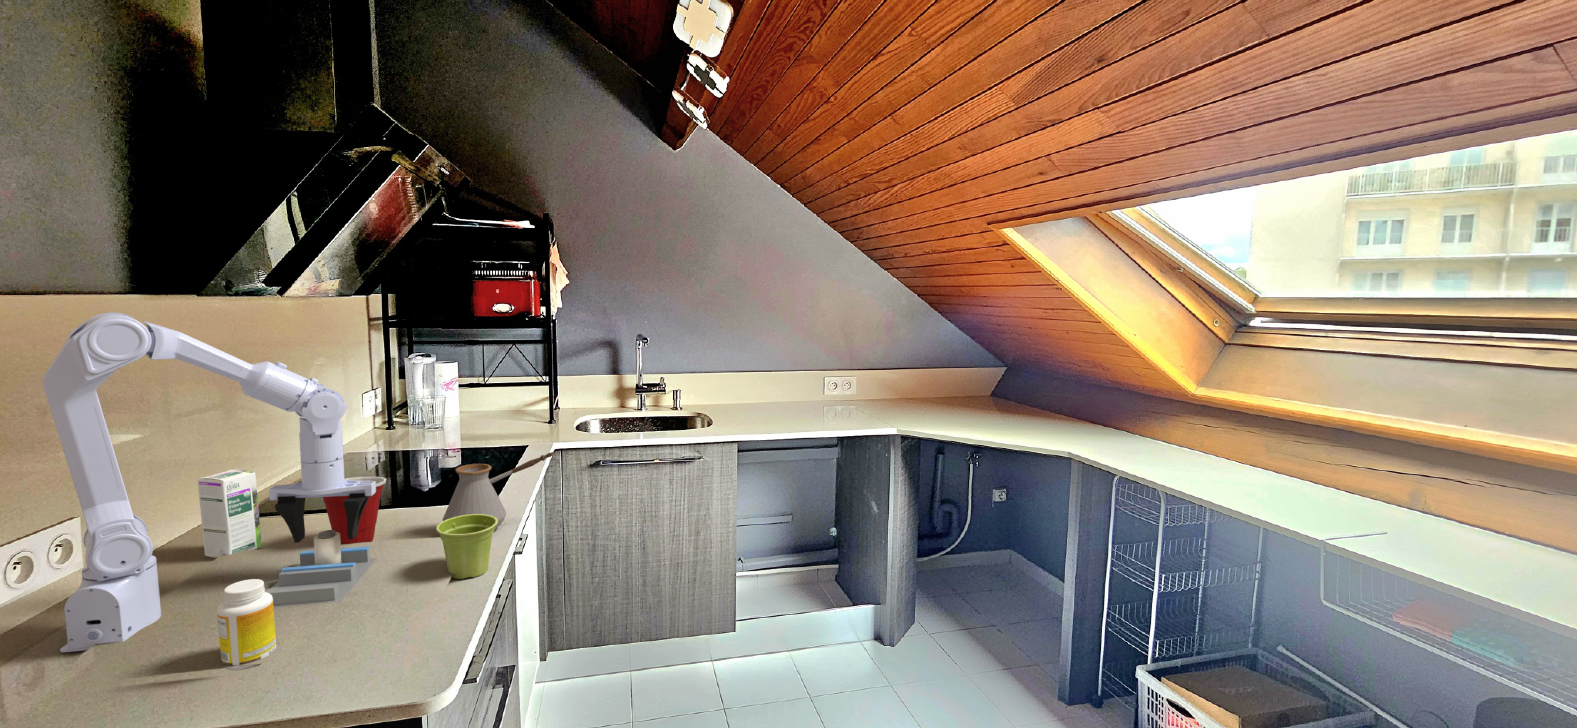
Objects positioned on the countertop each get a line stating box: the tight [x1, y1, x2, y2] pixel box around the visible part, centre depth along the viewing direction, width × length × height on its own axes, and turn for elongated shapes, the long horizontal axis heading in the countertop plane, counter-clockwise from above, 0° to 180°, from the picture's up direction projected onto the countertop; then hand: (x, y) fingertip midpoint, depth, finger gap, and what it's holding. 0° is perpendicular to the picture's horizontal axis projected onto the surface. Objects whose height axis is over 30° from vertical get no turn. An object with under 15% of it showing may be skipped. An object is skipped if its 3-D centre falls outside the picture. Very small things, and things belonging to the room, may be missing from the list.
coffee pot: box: [442, 451, 557, 531], centre depth 131 cm, size 21×12×15 cm, turn 113°
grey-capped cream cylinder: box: [313, 529, 342, 565], centre depth 108 cm, size 4×4×7 cm
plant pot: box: [436, 514, 498, 580], centre depth 111 cm, size 9×9×9 cm
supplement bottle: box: [216, 578, 277, 671], centre depth 84 cm, size 6×6×10 cm
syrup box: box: [197, 469, 263, 559], centre depth 116 cm, size 6×6×14 cm
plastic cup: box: [322, 476, 387, 545], centre depth 122 cm, size 11×11×12 cm
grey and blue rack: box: [265, 546, 378, 608], centre depth 105 cm, size 16×12×3 cm
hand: (326, 538), depth 108 cm, fingers open, 7 cm apart
